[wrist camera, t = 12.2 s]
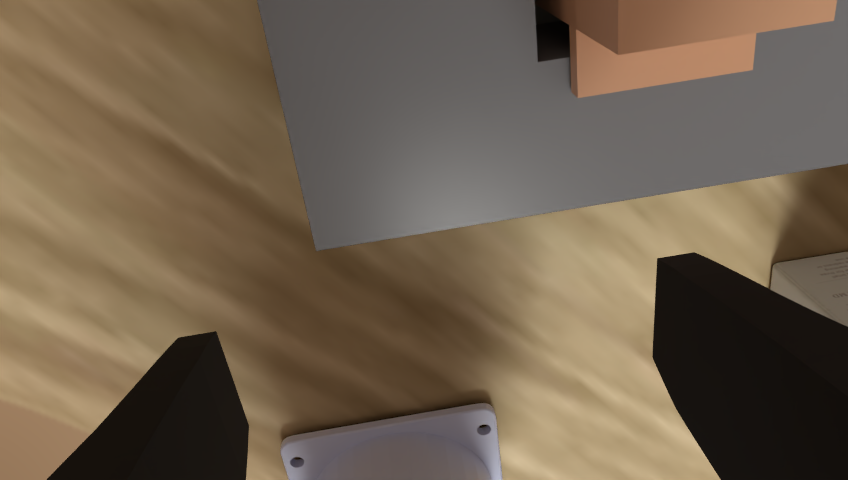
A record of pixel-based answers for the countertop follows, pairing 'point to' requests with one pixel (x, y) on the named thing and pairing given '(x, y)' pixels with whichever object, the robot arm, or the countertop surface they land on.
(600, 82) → the block
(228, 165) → the countertop surface
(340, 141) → the grey square frame
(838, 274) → the small box
